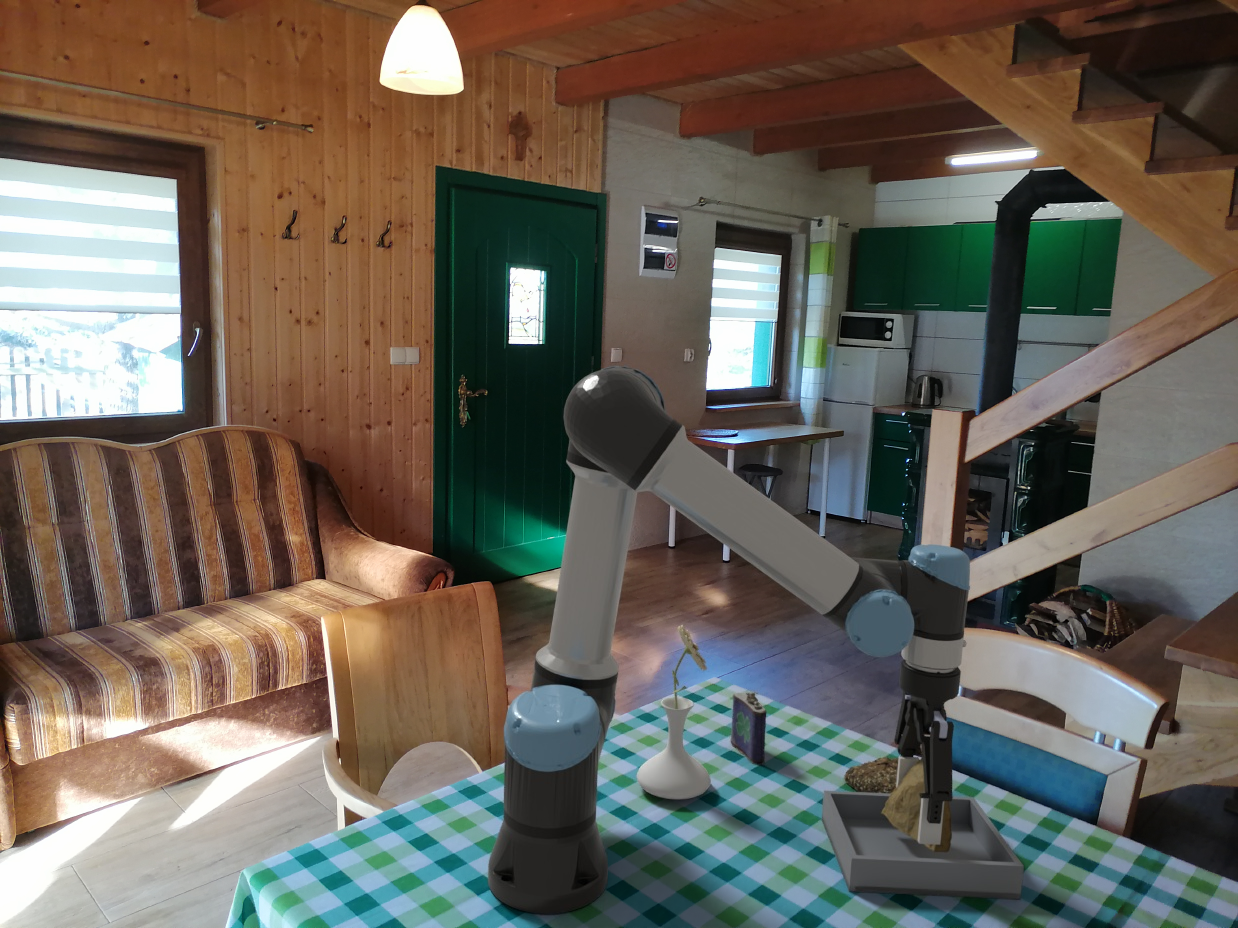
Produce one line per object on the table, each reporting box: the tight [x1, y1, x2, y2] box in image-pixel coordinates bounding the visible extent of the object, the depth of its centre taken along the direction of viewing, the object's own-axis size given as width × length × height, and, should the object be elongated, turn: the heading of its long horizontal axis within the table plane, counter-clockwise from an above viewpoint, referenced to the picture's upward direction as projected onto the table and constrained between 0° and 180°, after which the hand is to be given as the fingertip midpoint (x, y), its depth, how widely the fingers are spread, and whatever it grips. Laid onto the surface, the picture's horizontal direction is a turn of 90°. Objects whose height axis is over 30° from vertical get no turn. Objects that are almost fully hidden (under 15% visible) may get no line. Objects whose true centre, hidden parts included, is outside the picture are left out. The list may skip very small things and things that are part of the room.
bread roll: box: [843, 756, 899, 794], centre depth 146 cm, size 13×12×5 cm
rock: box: [881, 757, 952, 852], centre depth 125 cm, size 11×9×10 cm
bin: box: [821, 790, 1025, 900], centre depth 126 cm, size 22×18×4 cm
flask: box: [730, 690, 767, 766], centre depth 156 cm, size 9×3×11 cm, turn 21°
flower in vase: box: [636, 624, 712, 800], centre depth 142 cm, size 13×11×25 cm
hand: (916, 821), depth 126 cm, fingers closed on rock, 10 cm apart
